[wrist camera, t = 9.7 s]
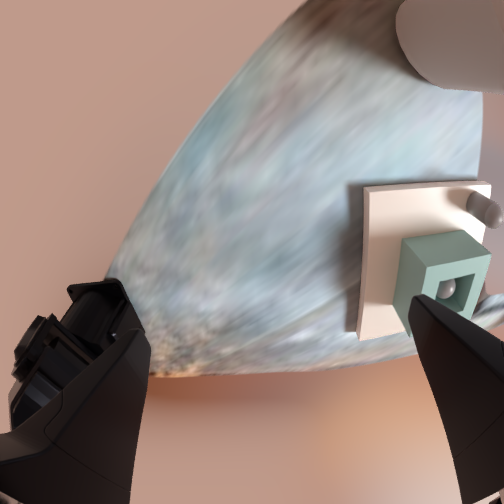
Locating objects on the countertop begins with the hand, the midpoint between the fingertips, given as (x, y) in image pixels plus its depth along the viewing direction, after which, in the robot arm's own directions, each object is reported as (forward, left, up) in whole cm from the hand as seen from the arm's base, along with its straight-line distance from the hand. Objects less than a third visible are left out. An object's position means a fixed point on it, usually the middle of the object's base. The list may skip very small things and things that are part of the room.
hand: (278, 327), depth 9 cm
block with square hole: (+13, -7, -11) cm, 18 cm away
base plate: (+13, -7, -12) cm, 19 cm away
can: (+14, +11, -12) cm, 22 cm away
